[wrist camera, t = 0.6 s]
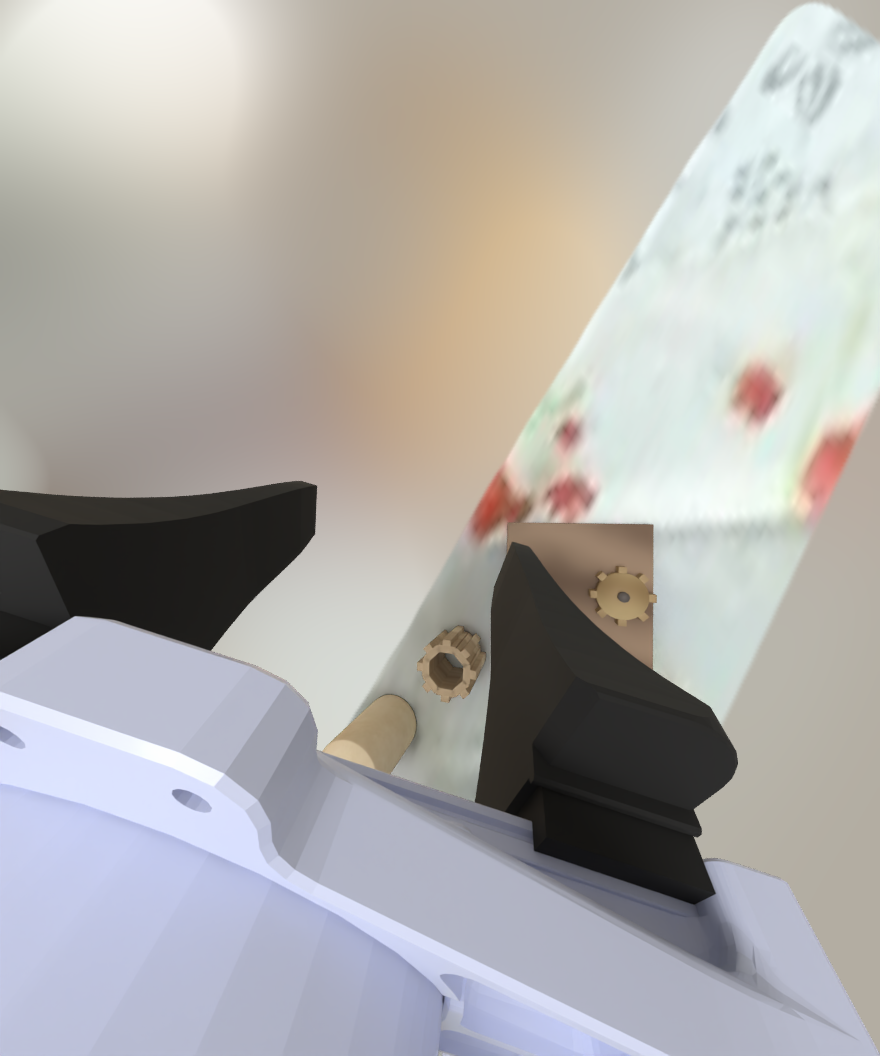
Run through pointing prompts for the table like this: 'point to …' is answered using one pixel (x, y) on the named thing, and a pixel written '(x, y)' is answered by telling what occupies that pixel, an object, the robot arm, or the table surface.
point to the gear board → (601, 575)
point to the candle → (377, 735)
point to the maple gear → (443, 673)
